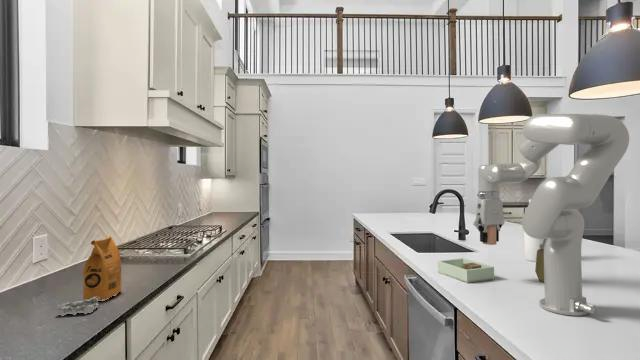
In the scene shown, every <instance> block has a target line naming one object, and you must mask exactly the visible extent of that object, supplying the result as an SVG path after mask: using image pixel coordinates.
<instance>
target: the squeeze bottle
mask: <svg viewBox="0 0 640 360" xmlns="http://www.w3.org/2000/svg"><path fill="white" fill-rule="evenodd" d="M546 240H547V239H544V240H543V244H540V249H539V250H537V257H536V262H535V275H536V277H537V279H538V281H540V282H541V283H545V282H544V246H545V243H546Z"/></svg>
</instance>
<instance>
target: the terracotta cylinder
mask: <svg viewBox="0 0 640 360" xmlns="http://www.w3.org/2000/svg"><path fill="white" fill-rule="evenodd" d="M483 227H484V226H483ZM486 233H487V243H484V242H482V244H484V245H488V246H496V245H497V238H496V225H495V226H494V225H487V229H486Z"/></svg>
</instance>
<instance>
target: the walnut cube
mask: <svg viewBox="0 0 640 360" xmlns="http://www.w3.org/2000/svg"><path fill="white" fill-rule="evenodd" d="M477 268H481V265H479V264H475V263H465V264H463V269H466V270H469V269H477Z"/></svg>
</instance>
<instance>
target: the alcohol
mask: <svg viewBox="0 0 640 360" xmlns="http://www.w3.org/2000/svg"><path fill="white" fill-rule="evenodd" d="M531 199H532V198H529V199H528V204H529V203H530V201H531ZM523 235H524V236H523V239H524V241H523V242H524V243H523V245H524V259H525V260H526V261H527V262H531V263H536V257H537V250H539V249H540V244H543V240H544V239H536V238H532V237H530V236H529V235H527V234H526V232H525V231H524V230H523Z"/></svg>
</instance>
